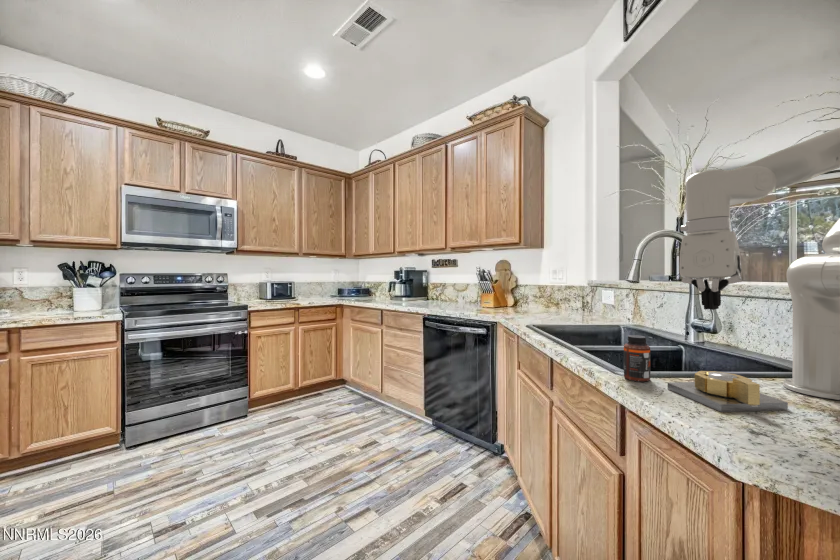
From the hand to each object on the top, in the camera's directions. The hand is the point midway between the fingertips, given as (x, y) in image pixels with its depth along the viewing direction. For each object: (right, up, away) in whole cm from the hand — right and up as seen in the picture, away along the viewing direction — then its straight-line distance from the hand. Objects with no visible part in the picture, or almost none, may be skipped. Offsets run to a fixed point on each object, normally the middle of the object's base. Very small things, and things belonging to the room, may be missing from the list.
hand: (711, 308), depth 78 cm
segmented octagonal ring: (+1, -18, -4) cm, 18 cm away
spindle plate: (+1, -20, -2) cm, 20 cm away
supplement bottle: (-9, -20, +13) cm, 25 cm away
